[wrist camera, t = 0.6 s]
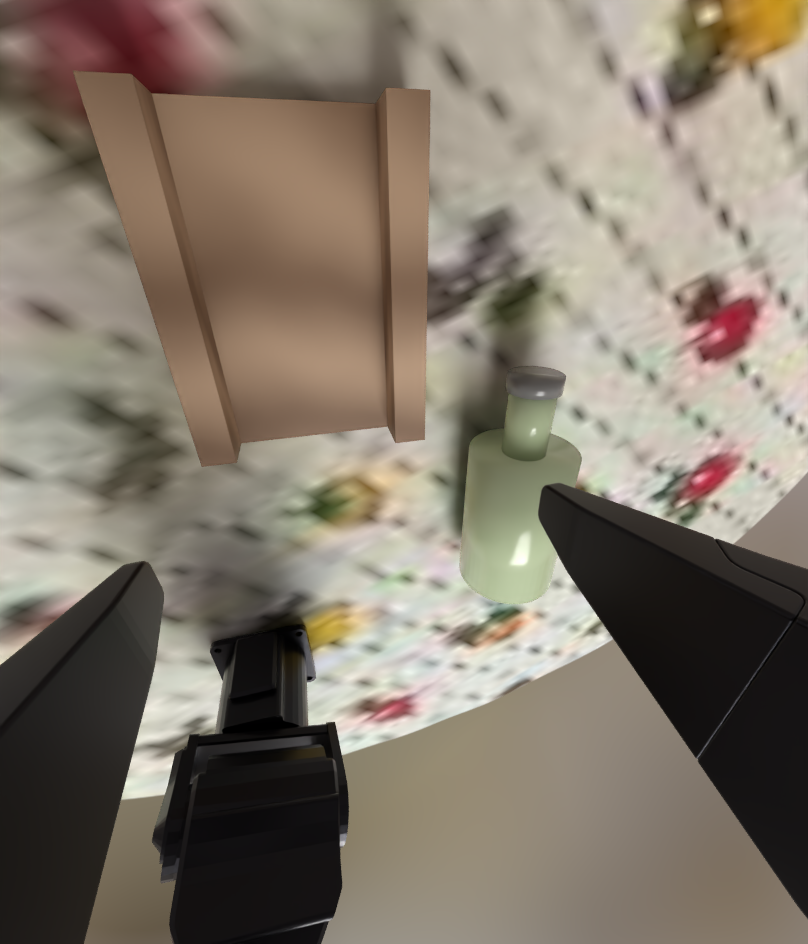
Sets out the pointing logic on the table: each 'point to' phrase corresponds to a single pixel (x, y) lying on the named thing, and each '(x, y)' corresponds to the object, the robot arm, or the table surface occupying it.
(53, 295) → the table surface
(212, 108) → the rest
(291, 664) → the robot arm
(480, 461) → the bottle
